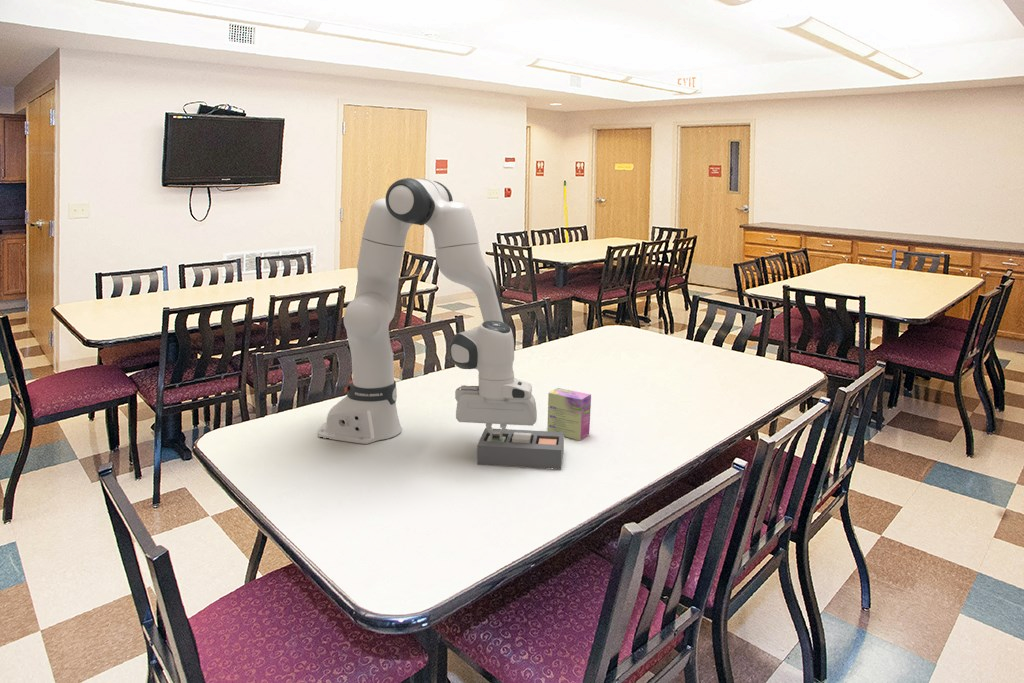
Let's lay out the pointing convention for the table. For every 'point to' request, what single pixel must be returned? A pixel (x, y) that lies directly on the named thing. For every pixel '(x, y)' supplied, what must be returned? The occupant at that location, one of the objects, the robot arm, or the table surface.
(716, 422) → the table surface
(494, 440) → the key sage
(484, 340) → the robot arm
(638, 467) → the table surface
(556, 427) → the box
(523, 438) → the key grey
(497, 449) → the keyboard
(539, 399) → the table surface
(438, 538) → the table surface
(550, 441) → the key terracotta
